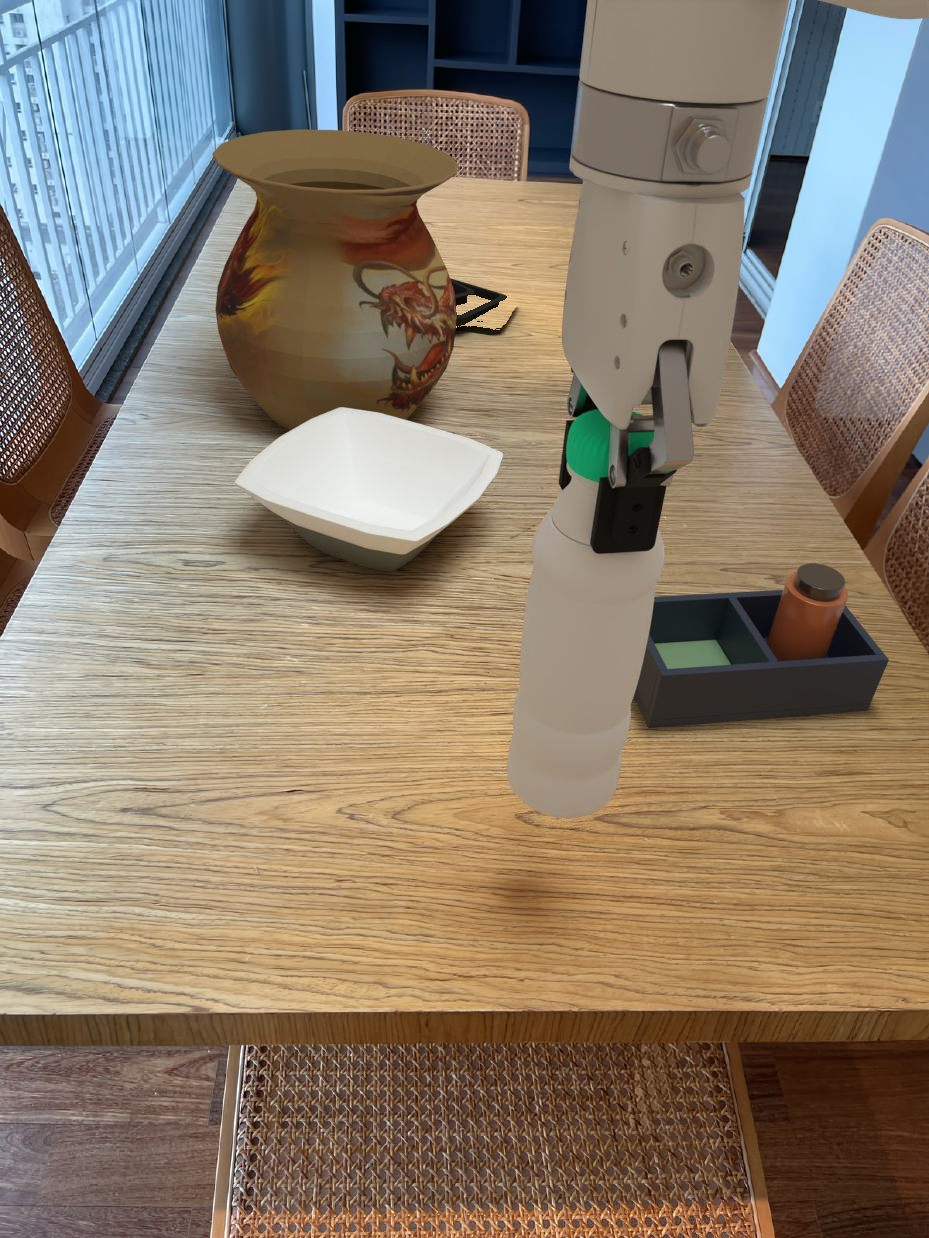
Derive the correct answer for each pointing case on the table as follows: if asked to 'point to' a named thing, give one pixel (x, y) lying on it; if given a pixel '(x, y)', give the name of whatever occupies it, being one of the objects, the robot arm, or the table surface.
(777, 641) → the spice jar
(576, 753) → the water bottle
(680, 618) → the divided storage box
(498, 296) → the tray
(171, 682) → the table surface
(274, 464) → the bowl
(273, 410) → the vase
